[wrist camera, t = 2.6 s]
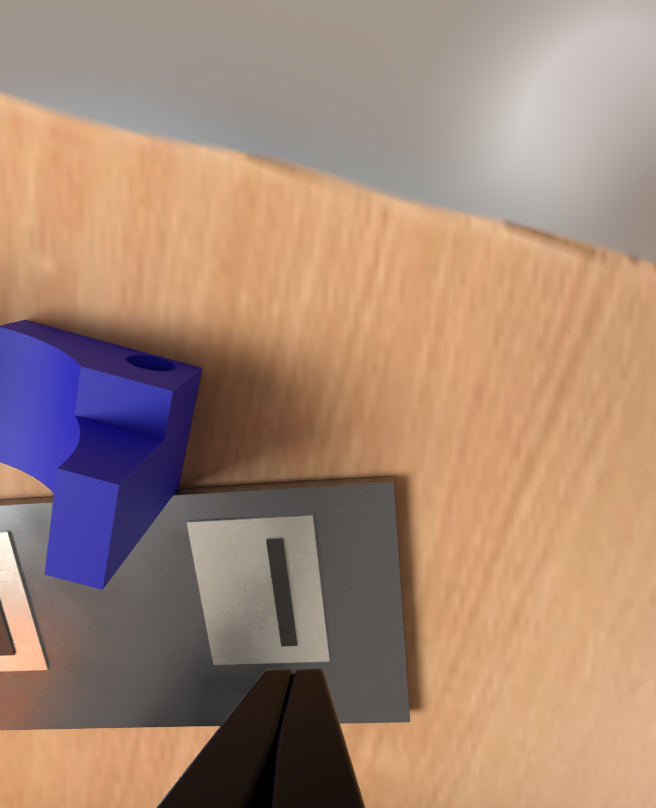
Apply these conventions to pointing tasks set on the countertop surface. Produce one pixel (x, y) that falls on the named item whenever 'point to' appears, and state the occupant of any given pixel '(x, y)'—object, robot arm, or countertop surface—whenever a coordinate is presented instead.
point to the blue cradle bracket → (93, 439)
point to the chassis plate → (208, 609)
